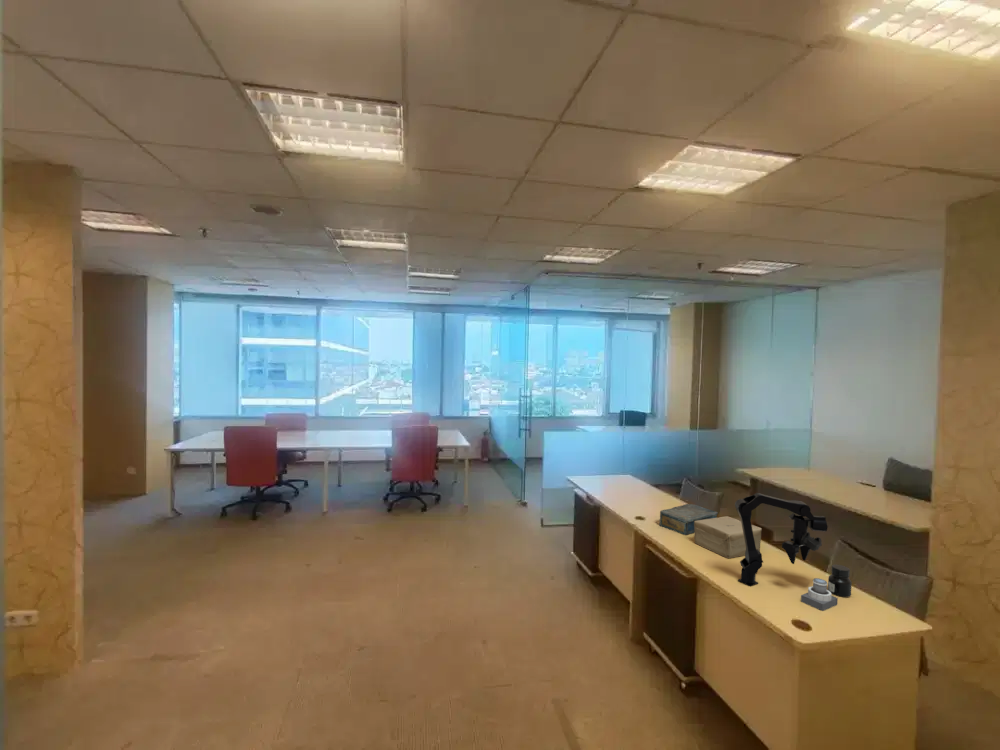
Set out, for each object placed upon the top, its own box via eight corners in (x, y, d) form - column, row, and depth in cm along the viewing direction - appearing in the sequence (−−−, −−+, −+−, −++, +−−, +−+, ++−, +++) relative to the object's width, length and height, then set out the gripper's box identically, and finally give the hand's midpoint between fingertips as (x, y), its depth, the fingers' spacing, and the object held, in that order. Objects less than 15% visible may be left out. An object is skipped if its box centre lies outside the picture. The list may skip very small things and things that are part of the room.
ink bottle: (829, 586, 235) (830, 561, 234) (851, 592, 229) (853, 567, 229) (826, 593, 227) (828, 568, 227) (849, 600, 222) (851, 573, 221)
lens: (822, 600, 214) (823, 584, 214) (809, 595, 219) (810, 579, 218) (828, 597, 217) (829, 581, 217) (816, 592, 221) (817, 576, 221)
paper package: (724, 537, 297) (726, 514, 296) (763, 553, 274) (764, 528, 273) (691, 543, 286) (692, 519, 285) (728, 560, 262) (729, 534, 262)
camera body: (822, 611, 211) (823, 598, 211) (800, 601, 219) (801, 589, 219) (837, 604, 217) (838, 592, 217) (815, 595, 225) (816, 583, 225)
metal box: (718, 527, 314) (719, 511, 314) (686, 536, 296) (687, 520, 296) (689, 517, 332) (689, 503, 331) (657, 525, 314) (658, 510, 313)
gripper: (806, 537, 219) (804, 572, 220) (829, 531, 228) (827, 564, 229) (782, 529, 229) (780, 562, 230) (804, 524, 238) (802, 555, 239)
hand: (798, 561), depth 231 cm, fingers open, 9 cm apart
